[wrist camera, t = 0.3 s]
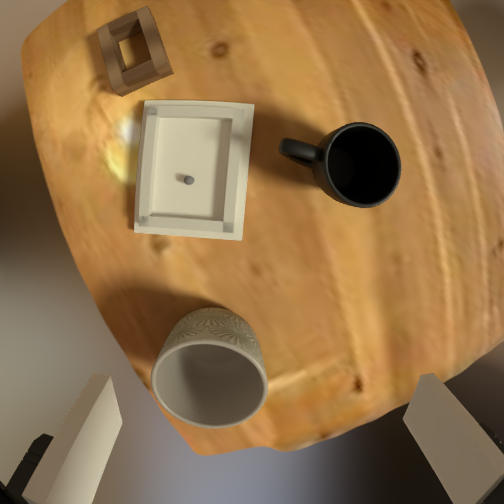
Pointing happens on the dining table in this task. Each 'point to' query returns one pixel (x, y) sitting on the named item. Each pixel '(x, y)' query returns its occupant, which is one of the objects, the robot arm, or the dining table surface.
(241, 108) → the white flat rectangular tray
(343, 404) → the dining table surface
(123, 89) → the frame
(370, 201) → the mug
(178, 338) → the planter
